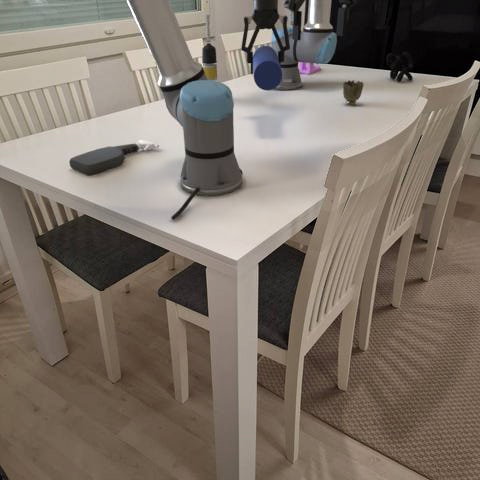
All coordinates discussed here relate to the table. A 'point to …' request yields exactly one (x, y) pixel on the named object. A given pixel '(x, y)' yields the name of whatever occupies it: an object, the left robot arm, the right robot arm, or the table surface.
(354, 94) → the cup
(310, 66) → the bracket
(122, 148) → the spray bottle
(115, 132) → the table surface
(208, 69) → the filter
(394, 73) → the squiggle
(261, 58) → the rod
